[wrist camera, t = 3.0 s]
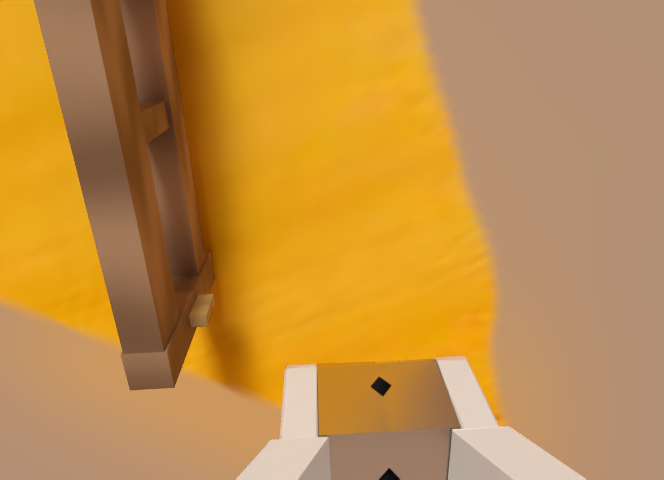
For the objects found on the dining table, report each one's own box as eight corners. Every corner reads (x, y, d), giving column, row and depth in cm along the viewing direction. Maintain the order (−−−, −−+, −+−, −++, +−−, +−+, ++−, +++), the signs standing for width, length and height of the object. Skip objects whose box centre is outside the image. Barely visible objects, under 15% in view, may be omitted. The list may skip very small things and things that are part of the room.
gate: (109, -138, 20) (-37, -260, 12) (172, -139, 21) (72, -261, 12) (184, 279, 29) (130, 390, 20) (228, 277, 29) (193, 386, 20)
